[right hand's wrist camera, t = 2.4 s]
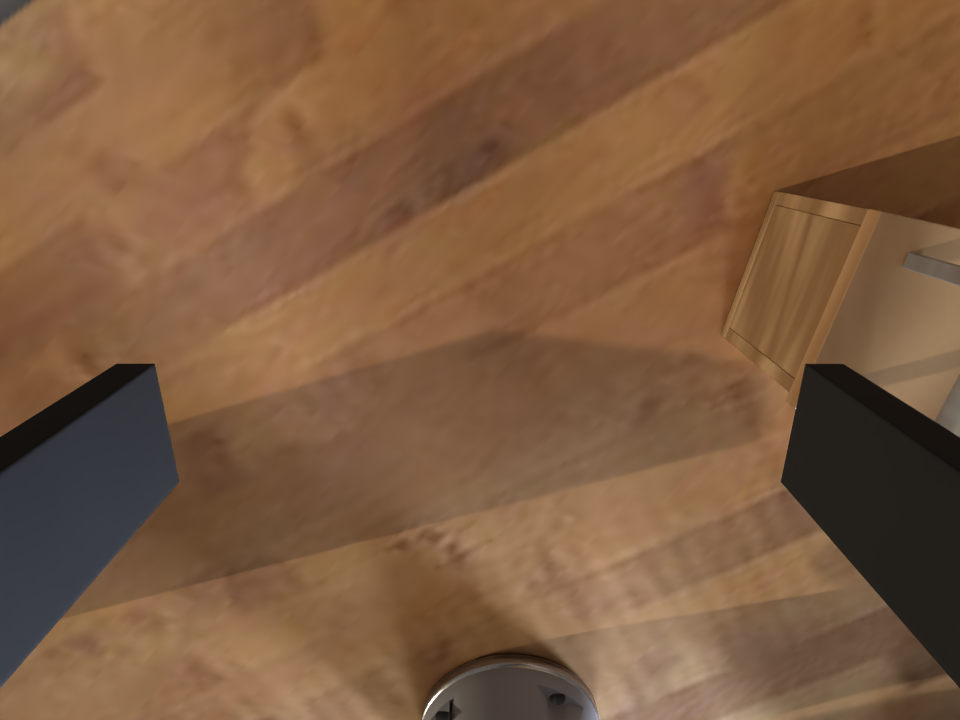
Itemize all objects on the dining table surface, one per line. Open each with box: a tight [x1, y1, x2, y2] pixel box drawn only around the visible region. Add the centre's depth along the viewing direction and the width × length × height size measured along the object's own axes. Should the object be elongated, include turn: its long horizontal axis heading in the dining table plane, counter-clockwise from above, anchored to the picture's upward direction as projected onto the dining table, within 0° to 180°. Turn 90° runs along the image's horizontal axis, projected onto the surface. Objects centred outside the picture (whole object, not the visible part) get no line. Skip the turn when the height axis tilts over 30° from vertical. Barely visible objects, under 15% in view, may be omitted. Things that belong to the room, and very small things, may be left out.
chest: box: [721, 191, 868, 392], centre depth 33 cm, size 17×9×11 cm, turn 78°
